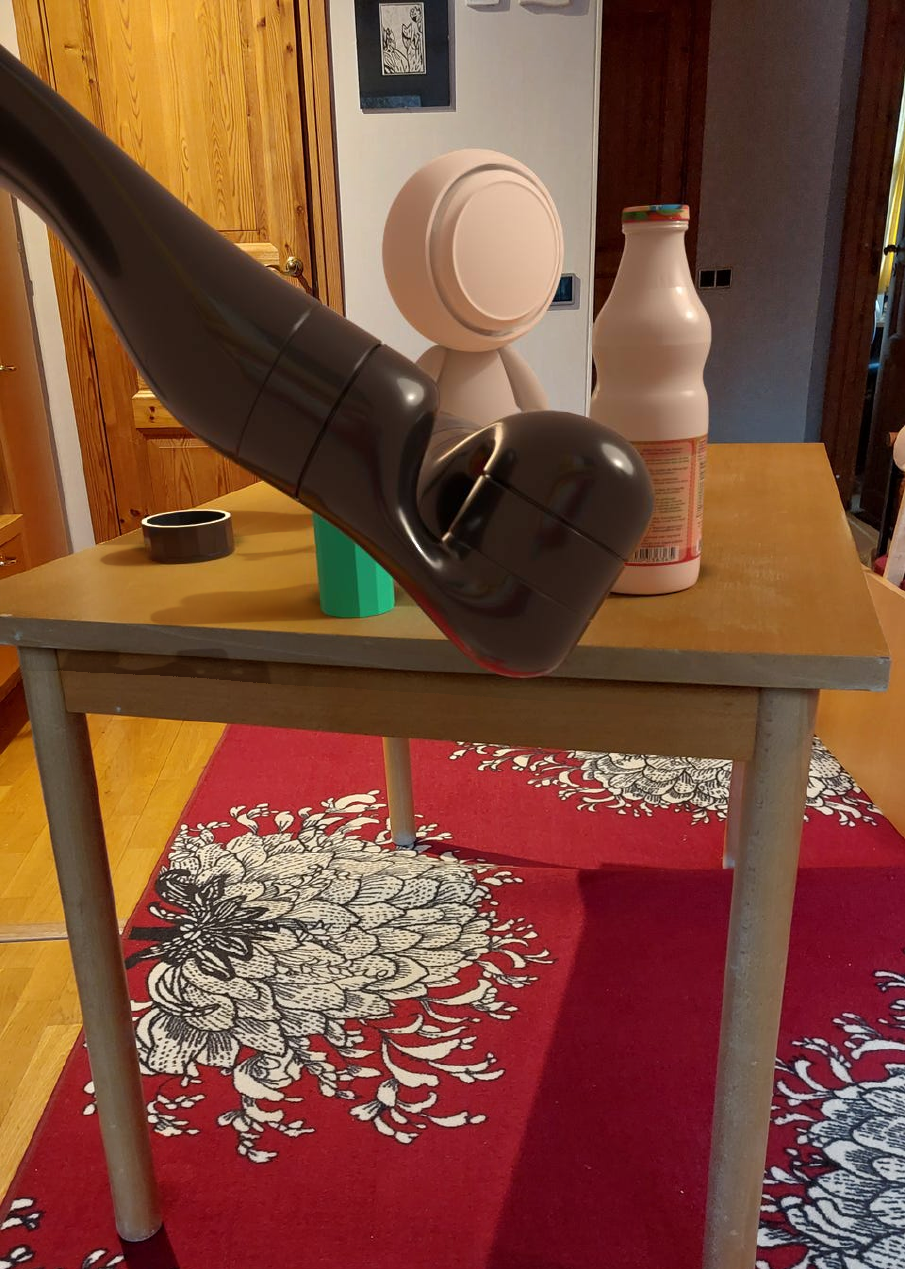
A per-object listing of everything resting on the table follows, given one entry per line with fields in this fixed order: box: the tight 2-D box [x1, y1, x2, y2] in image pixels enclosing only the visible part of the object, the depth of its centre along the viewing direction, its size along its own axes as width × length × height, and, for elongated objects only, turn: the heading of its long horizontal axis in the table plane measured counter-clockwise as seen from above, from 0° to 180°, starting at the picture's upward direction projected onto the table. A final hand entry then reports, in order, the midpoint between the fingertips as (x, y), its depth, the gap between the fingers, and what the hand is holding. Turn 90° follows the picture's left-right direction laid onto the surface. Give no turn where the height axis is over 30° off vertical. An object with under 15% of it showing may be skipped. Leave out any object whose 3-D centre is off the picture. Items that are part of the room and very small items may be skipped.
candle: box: [311, 511, 396, 618], centre depth 87 cm, size 6×6×12 cm
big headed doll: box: [381, 148, 565, 427], centre depth 116 cm, size 20×23×35 cm
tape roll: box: [140, 509, 236, 565], centre depth 109 cm, size 9×9×4 cm
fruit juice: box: [588, 204, 712, 595], centre depth 87 cm, size 9×9×28 cm
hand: (376, 450), depth 74 cm, fingers open, 8 cm apart
